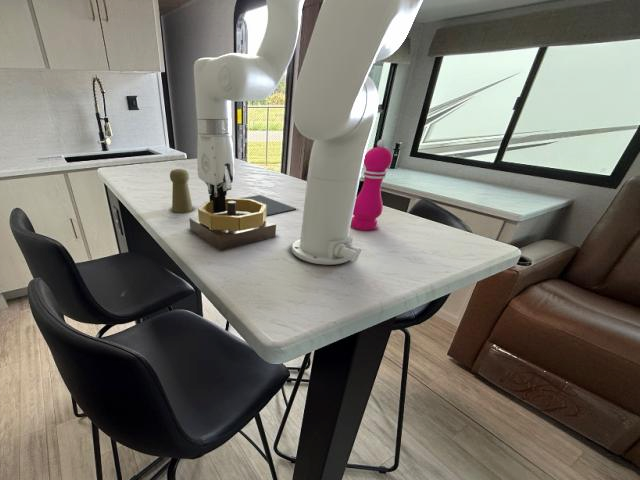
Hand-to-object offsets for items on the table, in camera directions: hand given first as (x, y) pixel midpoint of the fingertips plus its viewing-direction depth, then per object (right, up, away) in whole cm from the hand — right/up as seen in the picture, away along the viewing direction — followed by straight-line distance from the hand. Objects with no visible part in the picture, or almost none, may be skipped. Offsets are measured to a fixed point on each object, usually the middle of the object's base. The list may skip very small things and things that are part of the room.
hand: (218, 210), depth 80 cm
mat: (+9, +6, +16) cm, 19 cm away
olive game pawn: (-11, +4, +13) cm, 18 cm away
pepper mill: (+37, -4, +2) cm, 37 cm away
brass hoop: (+4, -2, -6) cm, 7 cm away
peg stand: (+4, -6, -3) cm, 8 cm away
